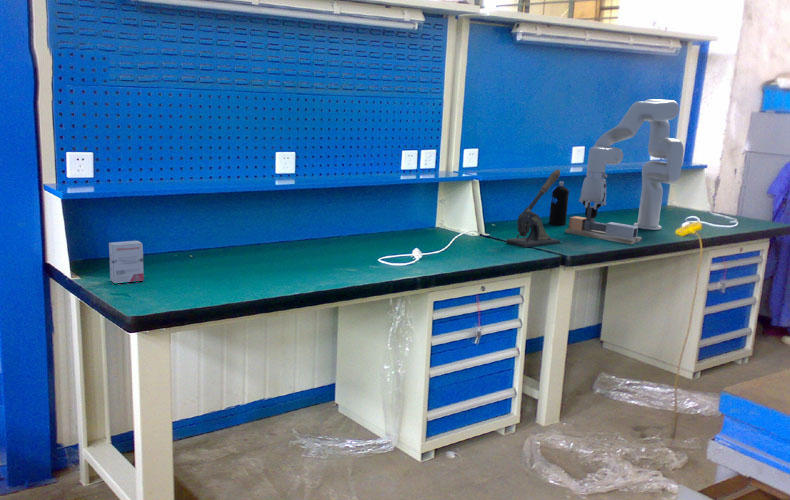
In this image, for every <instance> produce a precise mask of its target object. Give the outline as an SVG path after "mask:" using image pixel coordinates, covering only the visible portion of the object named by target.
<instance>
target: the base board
mask: <svg viewBox="0 0 790 500" xmlns="http://www.w3.org/2000/svg"><path fill="white" fill-rule="evenodd" d="M565 234H572V235H577V236H582V237H587V238H592V239H599V240H605V241H609V242H614V243H619V244H620V243H621V244H625V243H626V244H627V245H633V244H637V243H639V242H641V241H642V239H643V236H637V238H635V239H627V238H621V237H615V236H610V235H605V232H601V231H595V230H591V231H586V230H582V231H581V230H575V229H569V227H568V228H565Z"/></svg>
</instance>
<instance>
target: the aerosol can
mask: <svg viewBox="0 0 790 500" xmlns="http://www.w3.org/2000/svg"><path fill="white" fill-rule="evenodd" d="M569 195H570V190H569V189H568V188H567V187H565V186H564V181H559V184H558V186H555V187H553V189H551V199H550V209H549V216H548V217H549V219H548V222H547V224H549V225H551V226H558V227H561V226H562V227H563V226H566V225H567V214H568V207H569V206H568V205H569V197H570V196H569Z"/></svg>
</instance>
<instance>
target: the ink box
mask: <svg viewBox="0 0 790 500" xmlns="http://www.w3.org/2000/svg"><path fill="white" fill-rule="evenodd" d="M143 247H144V246H143V243H142V242H141V241H140V240H126V241H116V242H115V241H114V242H108V251H109V254H108V255H109V256H108V257H109V277H110V278H109V279H110V280H111V281H112V282H113V283H123V282H133V281H143V280H144V281H145V279H144V278H145V277H144V251H143V250H144V248H143ZM111 281H110V282H111ZM144 281H143V282H144ZM112 282H111V283H112ZM113 283H112V284H113Z"/></svg>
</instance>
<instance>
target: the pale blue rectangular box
mask: <svg viewBox="0 0 790 500" xmlns="http://www.w3.org/2000/svg"><path fill="white" fill-rule="evenodd" d="M605 224H606V232H605V235H610V236H615V237H621V238H627V239H635V238H637V237H638V229H639V228H638V226H634V225H632V224H625V223H620V222H613V221H610V222H607V223H605Z"/></svg>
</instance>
